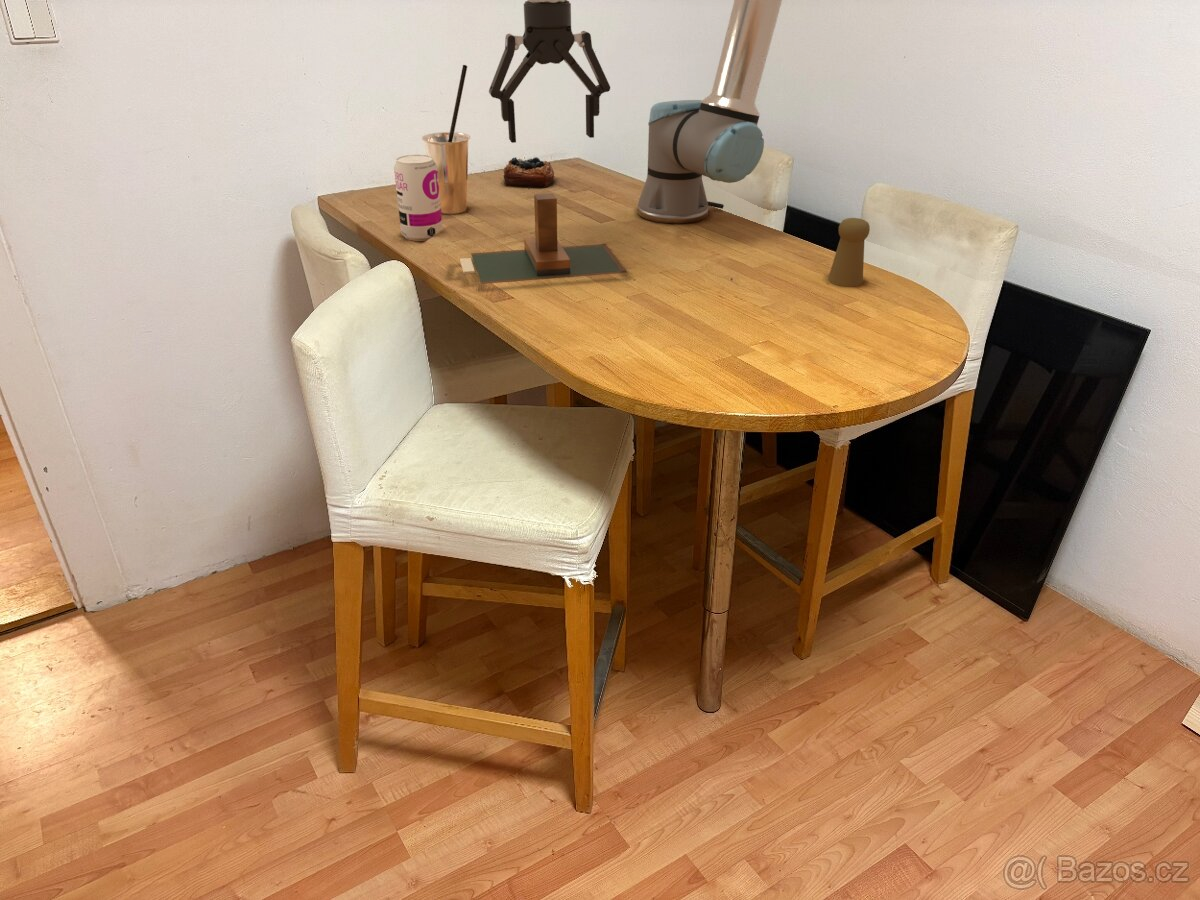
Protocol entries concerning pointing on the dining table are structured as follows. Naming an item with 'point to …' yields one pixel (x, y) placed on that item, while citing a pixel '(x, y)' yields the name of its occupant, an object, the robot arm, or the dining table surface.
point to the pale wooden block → (467, 266)
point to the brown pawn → (850, 253)
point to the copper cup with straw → (451, 161)
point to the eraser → (546, 239)
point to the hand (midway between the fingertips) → (551, 138)
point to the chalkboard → (520, 269)
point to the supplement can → (418, 197)
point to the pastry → (528, 173)
